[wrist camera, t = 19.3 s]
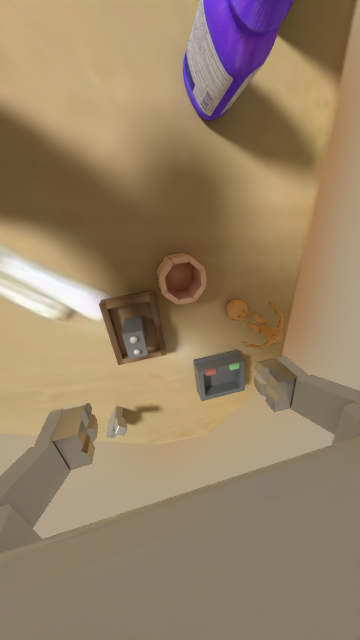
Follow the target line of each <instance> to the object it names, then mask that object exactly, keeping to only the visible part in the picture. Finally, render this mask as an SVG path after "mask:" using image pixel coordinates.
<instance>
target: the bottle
mask: <svg viewBox="0 0 360 640" xmlns="http://www.w3.org/2000/svg"><path fill="white" fill-rule="evenodd" d="M292 3H293V0H200V3H199V7H198V10H197V14H196V17H195V21H194V25H193V28H192V32H191V36H190V39H189V43H188V47H187V50H186V53H185V57H184V62H183V76H184V82H185V86H186V90H187V93H188V96H189V98H190V101H191V103H192V105H193V107H194V108H195V110H196V112H197V113H198V114H199V116H200V117H201V118H203V120H214V119H216V118H218V117H220V116H222V115H223V114H224V113H225V112H226V111H227V110H228V109H229V108H230V107H231V106H232V104H233V103H234V102H235V100H236V99H237V98H238V97H239V95H240V94H241V93H242V91H243V90H244V89H245V87H246V86H247V85H248V83H249V82H250V81H251V79H252V78H253V77H254V76H255V74H256V73H257V72H258V70H259V69H260V68H261V66H262V65H263V64H264V62H265V60H266V58H267V57H268V55H269V53H270V51H271V49H272V47H273V45H274V42H275V39H276V37H277V33H278V30H279V25H280V23H281V22H282V21H283V20H284V18H285V16H286V15H287V13H288V11H289V9H290V7H291V5H292Z"/></svg>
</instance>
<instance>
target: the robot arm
mask: <svg viewBox="0 0 360 640" xmlns="http://www.w3.org/2000/svg"><path fill="white" fill-rule="evenodd" d="M255 370H256V371H257V373H256V374H255V375H254V383H255V387H256V389H257V391H258V392H259V393H260V394H261V395H263V396H265V397H266V402H267V403H268V405H269V406H270V407H271V409H272V410H273V411H274V412H277V411H281V410H285V409H289V408H291V409H292V410H294V411H295V412H297V413H299V414H300V415H302V416H304V417H305V418H307V419H309V420H310V421H312V422H314V423H315V424H317V425H319V426H321V427H322V428H324V429H326V430H328V431H329V432H331V433H333V434H334V435H335V436H334V439H333V441H332V445H331V446H327V447H324V448H322V449H318V450H315V451H312V452H309V453H306V454H303V455H300V456H297V457H294V458H291V459H288V460H284V461H281V462H278V463H275V464H272V465H269V466H266V467H263V468H260V469H256V470H254V471H250V472H247V473H244V474H241V475H238V476H235V477H232V478H229V479H226V480H223V481H220V482H217V483H214V484H211V485H207V486H204V487H201V488H198V489H195V490H192V491H189V492H186V493H183V494H180V495H177V496H174V497H170V498H168V499H164V500H162V501H159V502H155V503H152V504H149V505H146V506H143V507H140V508H137V509H134V510H131V511H128V512H124V513H121V514H118V515H115V516H112V517H109V518H106V519H103V520H100V521H97V522H94V523H91V524H88V525H85V526H81V527H79V528H75V529H72V530H69V531H66V532H63V533H60V534H57V535H54V536H51V537H48V538H44V539H42V538H41V537H40V536H39V535H38V534H37V533H36V532H35V531H34V530H33V527H34V525H35V524H36V523H37V521H38V520H39V518H40V517H41V515H42V514H43V512H44V511H45V509H46V508H47V506H48V504H49V503H50V502H51V500H52V499H53V497H54V496H55V494H56V492H57V491H58V490H59V488H60V487H61V485H62V484H63V482H64V480H65V479H66V478H67V476H68V475H69V473H70V470H73V469H76V468H79V467H82V466H86V465H89V464H92V461H93V455H94V450H95V447H94V445H93V442H94V440H95V439H96V438H97V432H98V424H97V419H96V417H95V415H93V414H91V411H92V407H91V405H90V403H84V404H80V405H75V406H70V407H65V408H62V409H57V410H53V411H51V412H50V413H49V415H48V417H47V419H46V421H45V423H44V426H43V428H42V430H41V432H40V434H39V436H38V438H37V441H36V443H35V445H34V447H31V448H29V449H28V450H27V451H26V452H25V453H24V454H23V455H22V456H21V457H20V458H19V459H17V461H15V462H14V463H13V464H12V465H11V466H10V467H9V468H8V469H7V470H6V471H5V472H4V473H3V474H2V475H1V476H0V640H360V391H359V390H355V389H352V388H350V387H347V386H344V385H341V384H338V383H335V382H332V381H329V380H326V379H323V378H320V377H317V376H314V375H308V374H307V373H306V372H304V371H303V370H302V369H301V368H299V367H298V366H297V365H296V364H294V363H293V362H292V361H291V360H289V359H288V358H287V357H285V356H280V357H276V358H273V359H269V360H265V361H261V362H257V363H256V364H255Z"/></svg>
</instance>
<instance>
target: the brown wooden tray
mask: <svg viewBox="0 0 360 640" xmlns="http://www.w3.org/2000/svg"><path fill="white" fill-rule="evenodd" d="M99 306H100V309H101V312H102V315H103V318H104V321H105V325H106V328H107V331H108V334H109V337H110V340H111V343H112V346H113V349H114V352H115V356H116V359H117V362H118V365H121V364H126V363H130V362H135V361H139V360H144V359H148V358H153V357H158V356H162V355H166V349H165V344H164V339H163V334H162V328H161V323H160V318H159V313H158V307H157V302H156V297H155V293H154V290H153V291H148V292H142V293H137V294H131V295H125V296H120V297H114V298H109V299H103V300H101V302H100V304H99ZM136 316H142V320H143V324H144V329H145V333H146V337H147V349H148V355H146V356H141V357H137V358H132V359H129V357H128V354H127V350H126V347H125V343H124V340H123V336H122V331H123V325H124V319H126V318H131V317H136Z"/></svg>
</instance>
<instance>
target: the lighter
mask: <svg viewBox="0 0 360 640" xmlns="http://www.w3.org/2000/svg"><path fill="white" fill-rule="evenodd" d="M126 430H127V425H126V421H125V418H123V408H122V407H118V406H116V407H115V409H114V411H113V413H112V414H111V416H110V418H109V423H108V429H107V435H106V437H109V438H111V439H112V438H115V437H116V435H117V434H119V435H125V433H126Z"/></svg>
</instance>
